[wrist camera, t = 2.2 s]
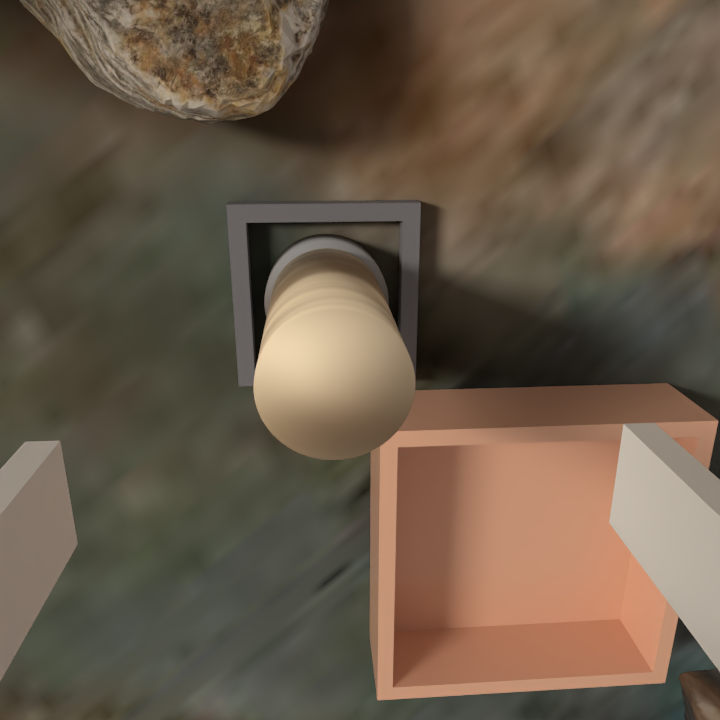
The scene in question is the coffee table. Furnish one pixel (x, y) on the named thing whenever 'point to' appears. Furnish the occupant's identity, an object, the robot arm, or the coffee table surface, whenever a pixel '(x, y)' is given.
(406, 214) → the gray square frame
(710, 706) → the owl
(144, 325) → the coffee table surface
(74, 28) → the stone
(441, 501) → the tray
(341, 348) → the beige rounded cylinder
